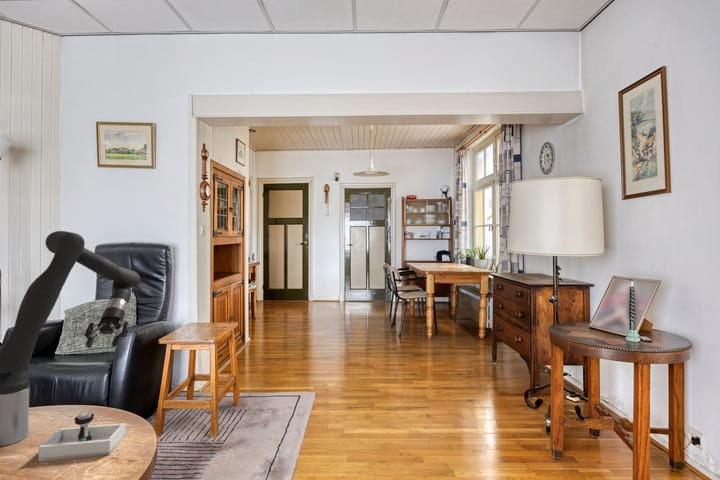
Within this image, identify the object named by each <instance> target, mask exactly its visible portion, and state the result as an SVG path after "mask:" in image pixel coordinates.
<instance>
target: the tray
mask: <svg viewBox="0 0 720 480" xmlns="http://www.w3.org/2000/svg"><path fill="white" fill-rule="evenodd" d="M88 429H89V431H90V436H91V437H92V440H91V441H85V442H78V434H80V426H76V427H75V426H74V427H64V428H60V429H59V430H58V431H57V432H55V433H54V434H53V435H52V436H51V437H49V438H48V439H47V440H45V441H44V442H43V443H42V444H40V445H39V446H38V458H37V459H38V460H37V461H38V462H48V461H49V462H50V461H58V460H59V461H61V460H68V459H69V460H70V459H78V458H89V457H101V456H109V455H111V454H112V453H113V451H114V450H115V449H116V448H117V447H118V445H120V443H121V442H122V441H123V439H124V438H125V437H126V422H123V423H113V424H100V425H88Z"/></svg>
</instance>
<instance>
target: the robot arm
mask: <svg viewBox="0 0 720 480" xmlns="http://www.w3.org/2000/svg"><path fill="white" fill-rule="evenodd" d="M45 247H46V248H47V250H48V251H49V252H51V253H53V254H54V255H53V257H52V260H51V262H50V264H49V265H48V267H47V268H46V269H45V270H44V271H43V272H42V273H41V274H40V275H38V277H37V278H35V279H34V280H33V282H32V283H30V285H29V286H28V288H27V290H26V292H25V294H24V296H23V297H22V299H21V303H20V306H19V308H18V311H17V313H16V314H17V315H16V317H15V323H14V326H13V329H12V331H11V334H10V335H9V337H8V339H7V340H6V342H5V343H4V344H2V345H0V447H2V446H8V445H12V444H16V443H18V442H21V441H23V440H25V439H26V438H27V437H28V436H29V423H30V422H29V417H30V415H29V413H30V373H29V362H30V361H31V359H32V356H33V352H34V349H35V346H36V343H37V341H38V338H39V335H40V333H41V331H42V330H43V328H44V326H45V325H46V322H47V321H48V319H49V317H50V315H51V313H52V311H53V310H54V307H55V305H56V303H57V301H58V298H59V297H60V294H61V291H62V290H63V287H64V286H65V283H66V281H67V279H68V277H69V275H70V273H71V271H72V269H73V268H74V266H75V264H76V263H77V264H79V265H81V266H83V267H85V268H87V269H89V270H91V271H92V272H93V273H95V274H97V275H98V276H100V277H102V278H104V279H105V280H107V281H112V285H111V286H112V289H111V294H110V298H109V300H108V302H107V303H106V305H105V308H104V310H103V312H102V315H101V317H100V321H99V322H98V323H94V322H90V323H89V325H88V327H87V328H86V331H85V332H84V334H83V335H84V337H85V338H86V339H87V341H86V343H85V346H86V347H87V348H88V349H91V348H92V346H93V344H94V341H95V339H96V338H98V337H100V336H102V335H112V334H114V335H115V336H114V337H113V340H112V343H111V346H112V348H116V347H117V346H118V345H119V343H120V339H121V338H122V339H123V338H127V335H128V332H129V328H130V324H129V321H124V322H123V320H124V317H125V315H126V313H127V309H128V305H129V302H130V299H131V296H132V294H131V292H130V291H129V289H132V288H136V287H137V286H139V285H140V283H141V280H142V279H141V277H140V276H141V275H140V274H139V273H137V272H136V271H134V270H132V269H129V268H126V267H124V266H119V264H116V263H115V262H113V261H111V260H110V259H108V258H106V257H105V256H102V255H100V254H98V253H96V252H93V251H92V250H89V249H88V248H86V247H85V240H84V237H83V236H82V235H81V234H79V233H76V232H70V231H65V230H57V231H54V232H51V233H50V234H48V235H47V237H46V238H45ZM120 328H122V329H121V332H119V331H118V330H119V329H120Z"/></svg>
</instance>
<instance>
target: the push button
mask: <svg viewBox="0 0 720 480" xmlns="http://www.w3.org/2000/svg"><path fill="white" fill-rule="evenodd" d="M94 417H95V414H94V413H92V412H91V411H83V412H80V413H78V414H77V416H75V417H74V419H73V420H74V424H75V425H78V426H79V427H80V434H78V442H85V441H91V440H92V437H91V436H90V431H89V429H88V426H89V424H90V423H91V422H93V420H94Z"/></svg>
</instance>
